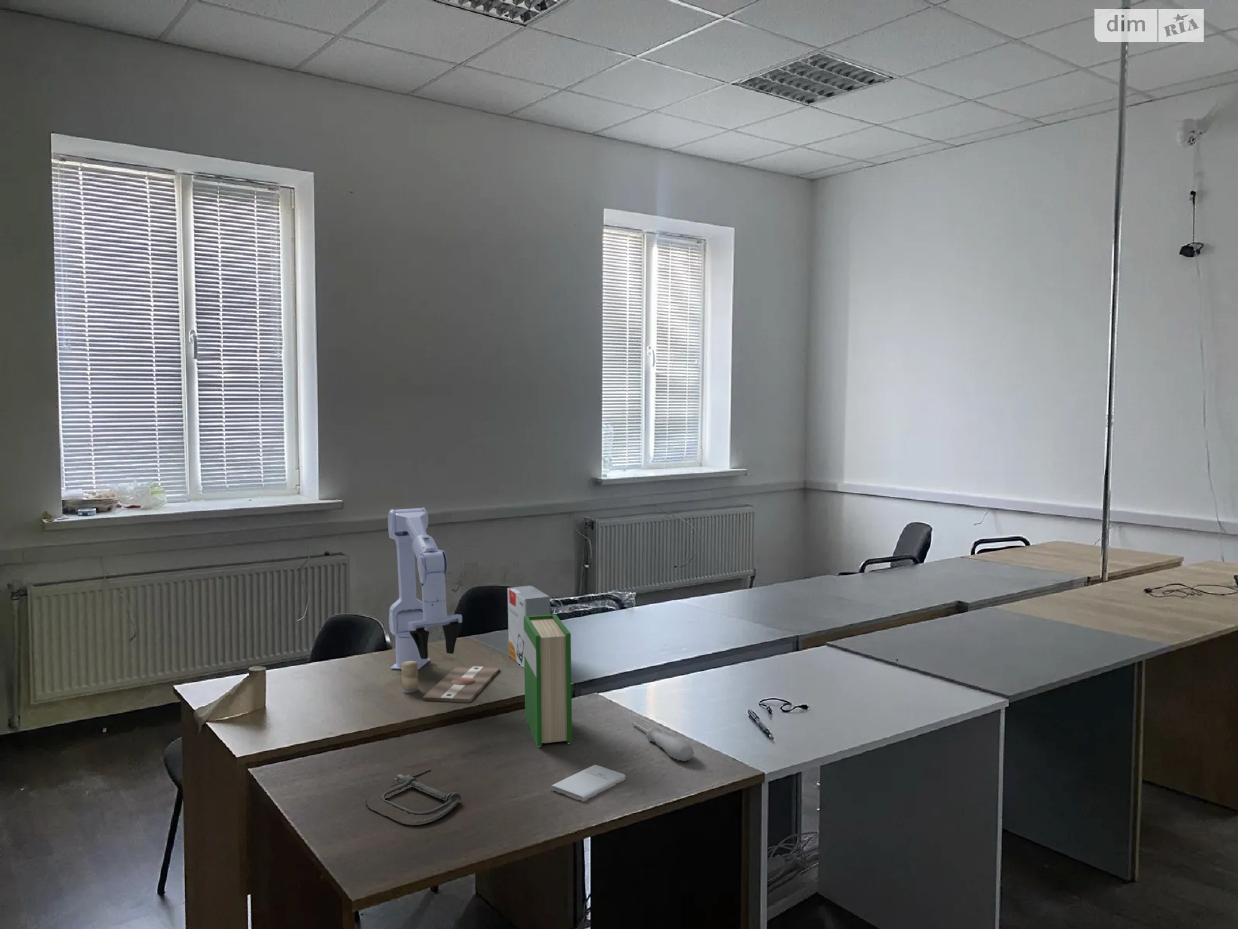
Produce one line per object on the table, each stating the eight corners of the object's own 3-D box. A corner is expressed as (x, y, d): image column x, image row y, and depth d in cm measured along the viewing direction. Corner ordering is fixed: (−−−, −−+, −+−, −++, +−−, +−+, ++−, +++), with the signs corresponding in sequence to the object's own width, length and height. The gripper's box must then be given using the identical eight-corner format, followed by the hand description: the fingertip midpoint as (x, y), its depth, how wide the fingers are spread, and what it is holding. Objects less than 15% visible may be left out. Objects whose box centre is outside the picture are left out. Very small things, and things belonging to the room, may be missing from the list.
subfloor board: (457, 668, 245) (457, 665, 245) (499, 670, 244) (499, 666, 243) (422, 700, 220) (422, 696, 220) (470, 702, 218) (469, 698, 218)
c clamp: (349, 799, 167) (348, 785, 167) (429, 772, 179) (428, 758, 179) (408, 836, 152) (407, 821, 152) (490, 803, 165) (490, 789, 164)
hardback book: (572, 744, 191) (570, 633, 189) (537, 748, 189) (535, 636, 188) (557, 716, 208) (555, 614, 206) (525, 719, 206) (523, 616, 205)
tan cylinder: (405, 687, 230) (404, 660, 229) (420, 688, 229) (419, 661, 229) (399, 692, 226) (398, 665, 225) (414, 693, 225) (414, 666, 225)
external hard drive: (550, 793, 169) (594, 771, 178) (583, 805, 164) (626, 782, 173) (550, 784, 169) (593, 763, 178) (583, 796, 164) (626, 774, 173)
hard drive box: (507, 656, 257) (506, 587, 256) (533, 653, 260) (532, 585, 259) (525, 671, 243) (524, 598, 241) (552, 667, 246) (551, 595, 245)
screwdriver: (638, 731, 203) (641, 713, 203) (697, 766, 181) (700, 744, 181) (620, 730, 201) (623, 711, 201) (677, 765, 179) (680, 743, 179)
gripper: (418, 605, 214) (421, 662, 214) (467, 597, 225) (471, 652, 224) (402, 604, 219) (405, 660, 219) (451, 596, 230) (454, 650, 229)
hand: (437, 656), depth 222 cm, fingers open, 7 cm apart
